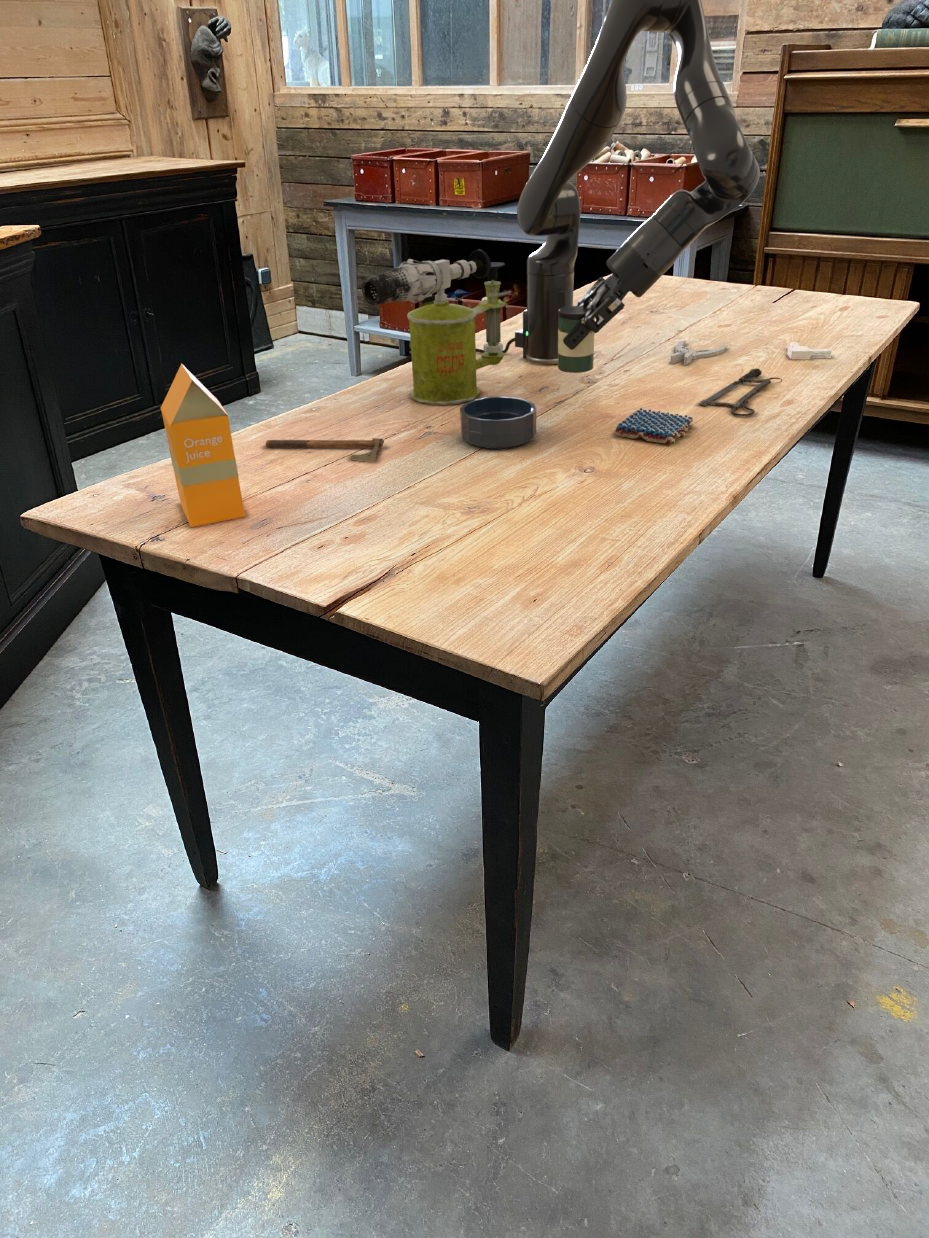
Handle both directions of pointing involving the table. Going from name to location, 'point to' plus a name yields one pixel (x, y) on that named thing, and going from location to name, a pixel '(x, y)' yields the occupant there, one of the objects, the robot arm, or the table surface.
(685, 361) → the pliers
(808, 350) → the corner connector
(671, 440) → the woven mat
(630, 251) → the robot arm
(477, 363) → the blowtorch
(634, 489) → the table surface
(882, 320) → the table surface
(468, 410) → the slate bowl
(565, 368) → the green tin
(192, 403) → the orange juice
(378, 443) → the tomahawk
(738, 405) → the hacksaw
